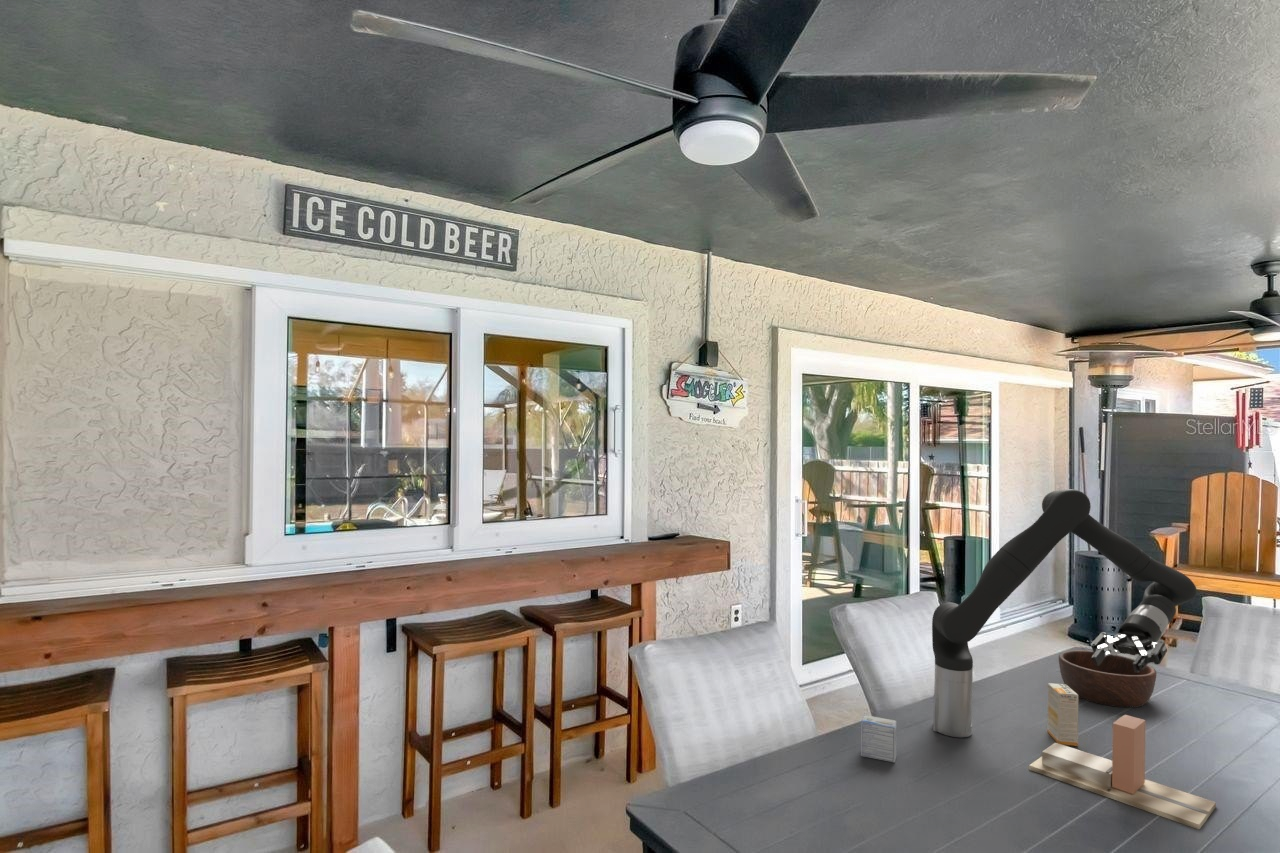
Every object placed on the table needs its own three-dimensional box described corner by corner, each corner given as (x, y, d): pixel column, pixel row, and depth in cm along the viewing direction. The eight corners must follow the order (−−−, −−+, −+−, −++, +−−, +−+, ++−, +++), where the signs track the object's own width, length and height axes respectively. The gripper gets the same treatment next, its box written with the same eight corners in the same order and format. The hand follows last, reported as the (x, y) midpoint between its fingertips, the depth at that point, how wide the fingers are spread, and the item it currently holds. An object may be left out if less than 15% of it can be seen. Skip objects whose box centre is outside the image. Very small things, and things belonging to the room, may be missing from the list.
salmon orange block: (1112, 786, 156) (1112, 723, 156) (1123, 776, 161) (1124, 714, 161) (1133, 794, 153) (1134, 729, 153) (1144, 783, 158) (1145, 720, 158)
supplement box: (1079, 746, 179) (1079, 694, 179) (1058, 744, 180) (1058, 693, 180) (1066, 733, 187) (1067, 683, 187) (1046, 731, 188) (1047, 682, 188)
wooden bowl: (1044, 679, 230) (1044, 647, 230) (1127, 684, 226) (1128, 652, 227) (1081, 708, 205) (1081, 673, 205) (1175, 715, 202) (1175, 678, 202)
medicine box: (896, 756, 172) (897, 720, 172) (895, 763, 168) (895, 727, 168) (862, 749, 175) (863, 714, 175) (860, 756, 171) (861, 720, 171)
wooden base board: (1029, 769, 166) (1029, 751, 166) (1052, 753, 175) (1052, 736, 175) (1199, 829, 141) (1199, 808, 141) (1215, 806, 150) (1216, 787, 151)
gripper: (1107, 609, 177) (1077, 646, 169) (1172, 617, 164) (1143, 656, 156) (1117, 636, 177) (1087, 673, 169) (1182, 645, 165) (1154, 686, 157)
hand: (1114, 665), depth 163 cm, fingers open, 8 cm apart
